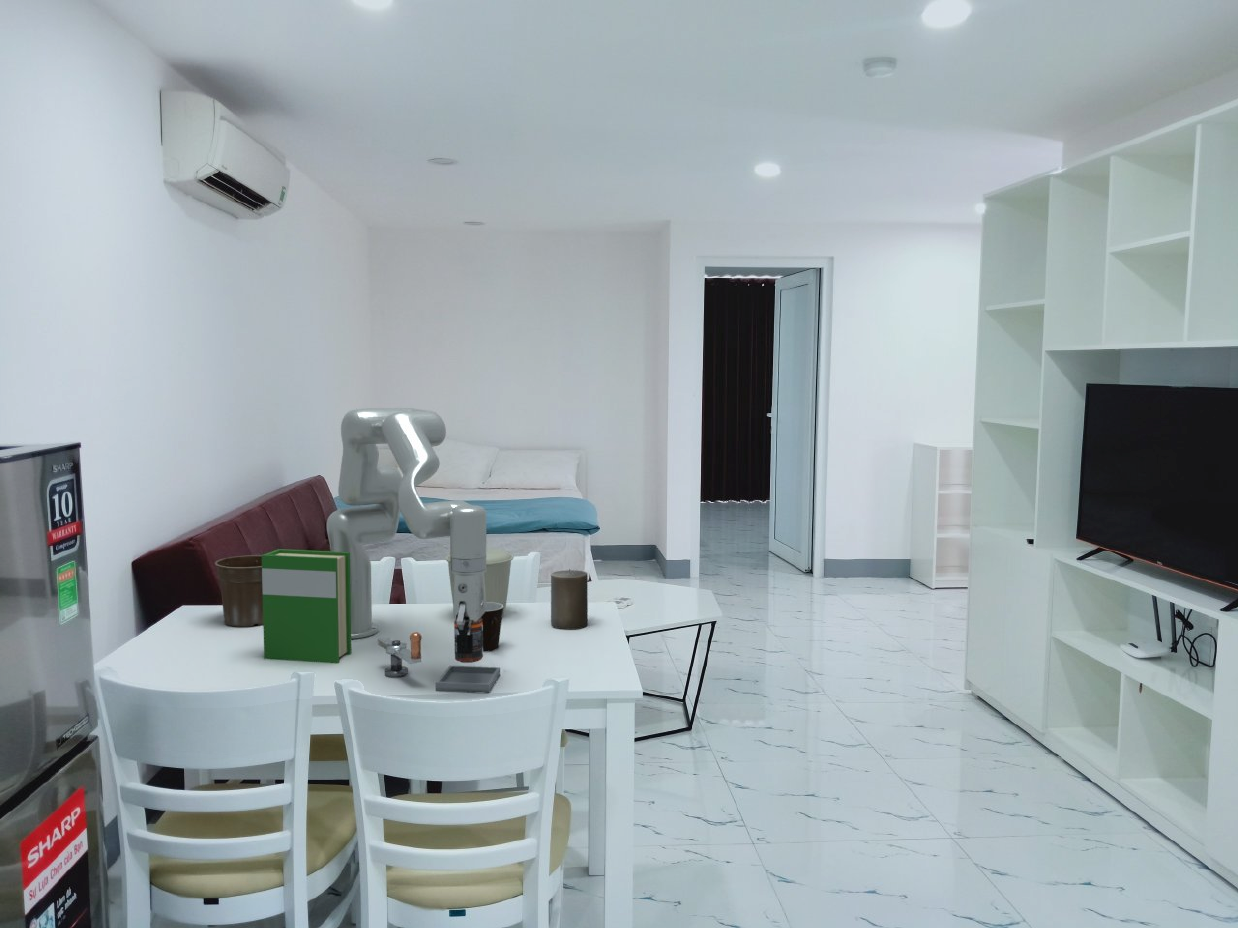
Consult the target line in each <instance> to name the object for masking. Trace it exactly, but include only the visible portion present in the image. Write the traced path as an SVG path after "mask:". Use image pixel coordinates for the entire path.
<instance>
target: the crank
mask: <svg viewBox="0 0 1238 928" xmlns="http://www.w3.org/2000/svg"><path fill="white" fill-rule="evenodd" d="M422 639H423V638H422V635H421V633H420V632H417V631H415V632H412V633H411V634H410V635H409V641H410V649H408V648H407V646H408V645H407V643H406V642H403V641H401V640H400V639H399V640H398V639H395V640H394V639H391V638H389V637H385V638H379V639H377V641H378V643H377V644H378V646H379V647H381V648H383V649H384V650H385V653H386V654H387V655H390V656H391V655H396V656H398V657H399V658H401V659H402V661H404V662H407V663H408V664H409V665H415V664H419V663H422V650H421V649H422V648H421V647H422V646H421V645H422Z"/></svg>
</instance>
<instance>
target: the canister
mask: <svg viewBox="0 0 1238 928" xmlns="http://www.w3.org/2000/svg"><path fill="white" fill-rule="evenodd" d="M514 557H515V556H514V555H513V554H512V553H510V552H508V551H507V550H506V549H503V548H498V547H497V548H496V547H489V546H488V547H487V546H486V570H487V571H486V572H485V573H484V579H485V596H486V602H493V603H499V604H502V605H503V613H502V615H503V614H504V612H505V611H506V607H507V600H508V593H509V584H510V574H511V565H512V561H513V560H514ZM444 558H445V561H446V562H447V564H448V565H447V566H448V573H449V575H448V576H449V582H450V583H449V584H450V591H451V592H450V594H451V599H452V601H453V599H454V576H455V574H453V573H451V572H450V553H449V554H448V555H446V556H445V557H444Z"/></svg>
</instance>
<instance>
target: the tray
mask: <svg viewBox="0 0 1238 928" xmlns="http://www.w3.org/2000/svg"><path fill="white" fill-rule="evenodd" d="M500 677H501V667H498V666H497V667H496V666H494V667H493V666H475V665H473V666H472V665H471V666H470V665H469V666H468V665H449V666H448V667H447V668H446V670H445V671H444V672H443V673H442V675H440V677H439V678H438V679H437V680H436V681H435V692H451V693H455V692H456V693H457V692H458V693H475V692H485V693H484V694H489V692H490V693H491V691H492V689H493V688H494V686H495V685H496V683H497V682H498V680H499V678H500ZM496 681H497V682H496ZM494 684H495V685H494Z"/></svg>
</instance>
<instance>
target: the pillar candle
mask: <svg viewBox="0 0 1238 928" xmlns="http://www.w3.org/2000/svg"><path fill="white" fill-rule="evenodd" d="M588 575H589V574H588V572H587V571H583V570H577V569H576V570H575V569H573V570H572V569H570V568H568V569H566V570H557V571H553V572H552V573H550V625H551V626H552V628H555V629H560V630H578V629H582V628H586V627H587V626H588V624H589V622H588V621H589V620H588V618H589V617H588V616H589V615H588V614H589V613H588V612H589V610H588V609H589V608H588V607H589V606H588V605H589V604H588V595H589V594H588V590H589V589H588V588H589V587H588V582H589V581H588V577H589V576H588Z"/></svg>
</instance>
